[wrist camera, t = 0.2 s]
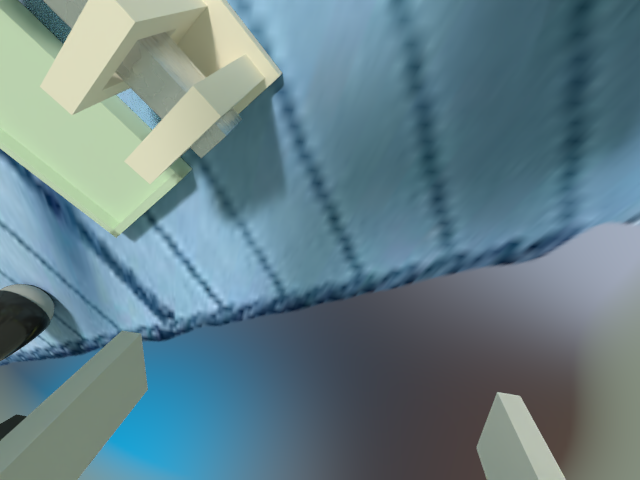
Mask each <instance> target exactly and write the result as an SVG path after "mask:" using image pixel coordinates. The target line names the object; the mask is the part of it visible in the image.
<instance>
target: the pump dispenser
mask: <svg viewBox="0 0 640 480" xmlns="http://www.w3.org/2000/svg"><path fill="white" fill-rule="evenodd" d="M53 314H54V304H53V301H52V299H51V298H50V297H49V296H48V295H47V294H46V293H45V292H44V291H42V290H41V289H39V288H37V287H34V286H31V285H26V284H15V285H10V286H7V287H4V288H2V289H0V361H1V360H3V359H5V358H7V357H8V356H10V355H11V354H13V353H14V352H16V351H18V350H19V349H21V348H22V347H23V346H25V345H26V344H28V343H29V342H30V341H32V340H33V339H34V338H35V337H37V336H38V335H39V334H40V333H42V332H43V331H44V330H45V329H46V328H47V327H48V326H49V324H50V320H51V319H52V317H53Z"/></svg>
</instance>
